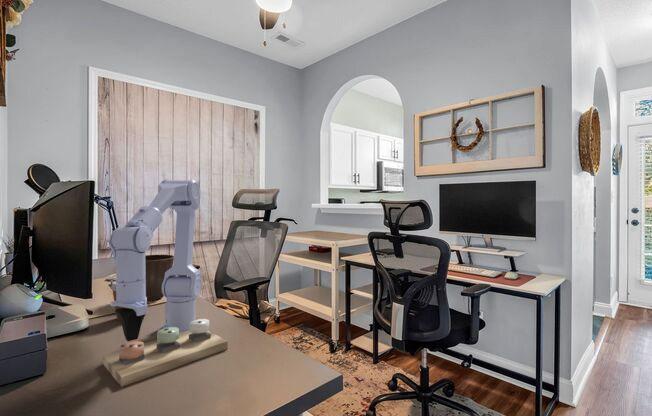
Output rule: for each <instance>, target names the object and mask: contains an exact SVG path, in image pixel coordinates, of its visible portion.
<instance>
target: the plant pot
mask: <svg viewBox="0 0 652 416" xmlns="http://www.w3.org/2000/svg"><path fill="white" fill-rule="evenodd" d="M173 265H174V254H173V255H172V254H147V255H146V254H145V271H146V297H147V301H155V300H156V299H157V300H160V299H159V298H161V299H162V297H163V298H164V295H163V293H162V283H163V281H164V277H165V272H166V271H168V270H169V269H170V268H172V267H173ZM157 300H156V301H157Z"/></svg>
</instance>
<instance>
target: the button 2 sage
mask: <svg viewBox="0 0 652 416" xmlns="http://www.w3.org/2000/svg"><path fill="white" fill-rule="evenodd" d="M156 336H157V337H156V338H157V339H156V340H157V342H159V343H170V342H173V341H176V340H177V339H179V328H176V327H168V328H161V329H159V330H157V333H156Z"/></svg>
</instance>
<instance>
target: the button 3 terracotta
mask: <svg viewBox="0 0 652 416" xmlns="http://www.w3.org/2000/svg"><path fill="white" fill-rule="evenodd" d="M144 343H145V342H144V341H138V340H137V341H136V340H135V341H134V340H133V341H128V342H126V343H124V344H121V345H120V346H119V348H118V349H119V350H118V351H119V358H120V359H124V360H127V359H133V358H137V357H139V356H141V355H143V353H144Z"/></svg>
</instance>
